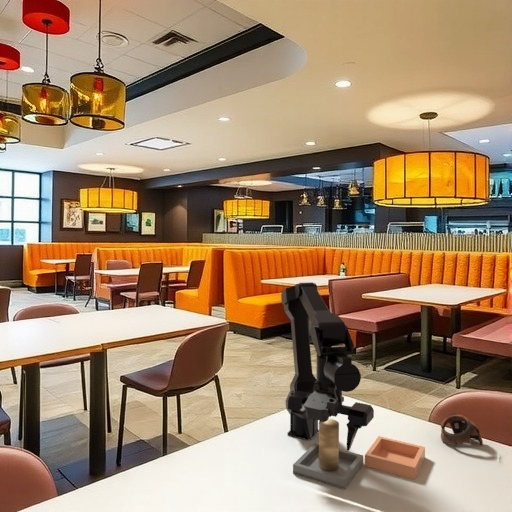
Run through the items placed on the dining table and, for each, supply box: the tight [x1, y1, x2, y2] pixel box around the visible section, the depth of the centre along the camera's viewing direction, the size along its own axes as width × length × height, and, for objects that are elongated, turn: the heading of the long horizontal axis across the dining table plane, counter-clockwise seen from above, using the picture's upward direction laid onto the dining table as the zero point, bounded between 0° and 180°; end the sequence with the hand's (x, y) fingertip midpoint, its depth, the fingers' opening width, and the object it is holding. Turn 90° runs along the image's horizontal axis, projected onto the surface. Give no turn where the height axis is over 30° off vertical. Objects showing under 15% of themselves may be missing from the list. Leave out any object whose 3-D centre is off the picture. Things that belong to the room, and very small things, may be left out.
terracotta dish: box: [364, 435, 426, 480], centre depth 103 cm, size 11×11×3 cm
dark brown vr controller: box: [440, 411, 484, 446], centre depth 113 cm, size 12×10×8 cm
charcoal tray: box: [292, 442, 364, 490], centre depth 100 cm, size 12×12×2 cm
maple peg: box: [318, 418, 340, 472], centre depth 100 cm, size 4×4×10 cm
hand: (328, 444), depth 100 cm, fingers open, 9 cm apart
